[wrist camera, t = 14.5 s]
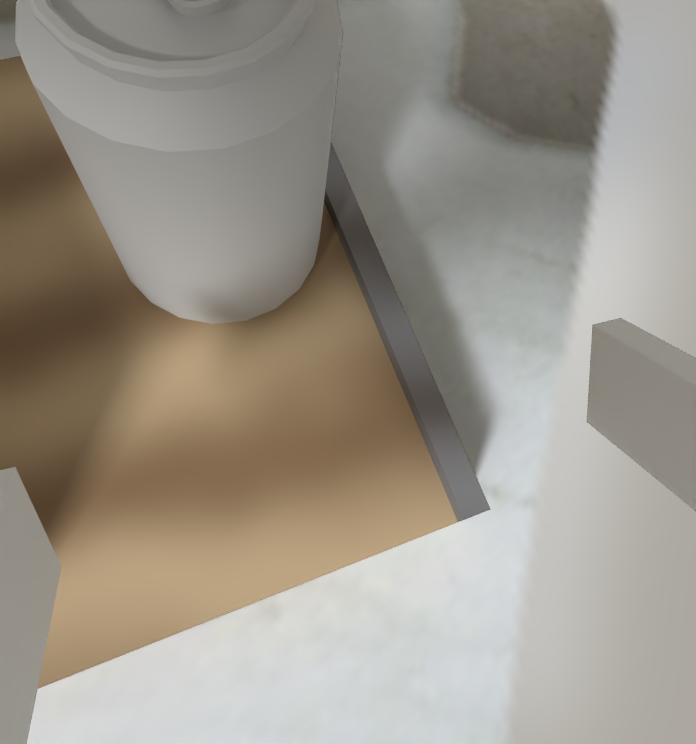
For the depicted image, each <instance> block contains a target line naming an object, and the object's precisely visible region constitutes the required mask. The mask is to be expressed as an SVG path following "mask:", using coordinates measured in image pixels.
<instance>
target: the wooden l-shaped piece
mask: <svg viewBox="0 0 696 744" xmlns="http://www.w3.org/2000/svg"><path fill="white" fill-rule="evenodd" d="M12 467H16V470H17V472H18V474H19V476H20V478H21V480H22V483H23V485H24V487H25V489H26V491H27V493H28V496H29V498H30V500H31V502H32V504H33V506H34V508H35V511H36V513H37V515H38V517H39V519H40V521H41V524H42V526H43V528H44V530H45V532H46V534H47V537H48V539H49V541H50V543H51V545H52V547H53V550H54V552H55V554H56V556H57V558H58V560H59V562H60V565H61V567H62V568H61V573H60V578H59V583H58V588H57V593H56V598H55V603H54V608H53V613H52V618H51V623H50V628H49V633H48V638H47V643H46V648H45V653H44V658H43V663H42V668H41V673H40V678H39V683H38V688H41V687H43V686H46V685H48V684H51V683H53V682H56V681H58V680H61V679H63V678H66V677H68V676H71V675H73V674H76V673H78V672H81V671H83V670H86V669H89V668H91V667H94V666H96V665H99V664H101V663H104V662H106V661H109V660H111V659H114V658H116V657H119V656H121V655H124V654H126V653H129V652H131V651H134V650H136V649H139V648H141V647H144V646H146V645H149V644H152V643H154V642H157V641H159V640H162V639H164V638H167V637H169V636H172V635H174V634H177V633H179V632H182V631H184V630H187V629H189V628H192V627H194V626H197V625H199V624H202V623H204V622H207V621H209V620H212V619H214V618H217V617H220V616H222V615H225V614H227V613H230V612H232V611H235V610H237V609H240V608H242V607H245V606H247V605H250V604H252V603H255V602H257V601H260V600H262V599H265V598H267V597H270V596H272V595H275V594H277V593H280V592H283V591H285V590H288V589H290V588H293V587H295V586H298V585H300V584H303V583H305V582H308V581H310V580H313V579H315V578H318V577H320V576H323V575H325V574H328V573H330V572H333V571H335V570H338V569H340V568H343V567H346V566H348V565H351V564H353V563H356V562H358V561H361V560H363V559H366V558H368V557H371V556H373V555H376V554H378V553H381V552H383V551H386V550H388V549H391V548H393V547H396V546H398V545H401V544H403V543H406V542H409V541H411V540H414V539H416V538H419V537H421V536H424V535H426V534H429V533H431V532H434V531H436V530H439V529H441V528H444V527H446V526H449V525H451V524H454V523H456V522H459V521H462V520H465V519H467V518H470V517H472V516H475V515H477V514H480V513H482V512H485V511H487V510H490V507H489V505H488V503H487V500H486V498H485V496H484V493H483V491H482V489H481V486H480V484H479V482H478V480H477V477H476V475H475V473H474V470H473V468H472V466H471V463H470V461H469V459H468V457H467V454H466V452H465V450H464V447H463V445H462V443H461V440H460V438H459V436H458V433H457V431H456V429H455V427H454V424H453V422H452V420H451V417H450V415H449V413H448V410H447V408H446V406H445V404H444V401H443V399H442V397H441V394H440V392H439V390H438V387H437V385H436V383H435V381H434V378H433V376H432V374H431V371H430V369H429V367H428V364H427V362H426V360H425V358H424V355H423V353H422V351H421V348H420V346H419V344H418V341H417V339H416V337H415V335H414V332H413V330H412V328H411V325H410V323H409V321H408V318H407V316H406V314H405V311H404V309H403V307H402V305H401V302H400V300H399V298H398V295H397V293H396V291H395V288H394V286H393V284H392V282H391V279H390V277H389V275H388V272H387V270H386V268H385V265H384V263H383V261H382V259H381V256H380V254H379V252H378V249H377V247H376V245H375V242H374V240H373V238H372V236H371V233H370V231H369V229H368V226H367V224H366V222H365V219H364V217H363V215H362V212H361V210H360V208H359V206H358V203H357V201H356V199H355V196H354V194H353V192H352V189H351V187H350V185H349V183H348V180H347V178H346V176H345V173H344V171H343V169H342V166H341V164H340V162H339V160H338V157H337V155H336V153H335V150H334V148H333V146H332V143H331V144H330V153H329V161H328V170H327V179H326V188H325V196H324V205H323V214H322V223H321V232H320V239H319V244H318V249H317V254H316V259H315V263H314V266H313V268H312V269H311V271H310V273H309V274H308V276H307V277H306V279H305V281H304V282H303V284H302V285H301V287H300V289H299V290H298V291H297V292H295V293H294V294H293V295H292V296H290V297H289V298H288V299H287V300H286V301H284V302H283V303H282V304H281V305H279V306H278V307H277V308H276V309H274V310H271V311H269V312H266V313H264V314H261V315H259V316H256V317H254V318H251V319H249V320H247V321H239V322H229V323H218V324H209V323H204V322H199V321H194V320H189V319H184V318H179V317H177V316H175V315H174V314H172V313H170V312H168V311H166V310H164V309H162V308H160V307H159V306H157V305H155V304H153V303H151V302H150V301H149V300H148V299H147V298H146V297H145V295H144V294H143V293H142V292H141V291H140V290H139V289H138V288H137V287H136V286H135V285H134V284H133V283H132V282H131V281H130V279H129V277H128V275H127V273H126V271H125V269H124V267H123V265H122V263H121V261H120V259H119V257H118V255H117V253H116V251H115V249H114V247H113V245H112V243H111V241H110V239H109V237H108V235H107V233H106V231H105V229H104V227H103V225H102V223H101V221H100V219H99V216H98V214H97V212H96V210H95V208H94V206H93V204H92V202H91V200H90V198H89V196H88V194H87V192H86V190H85V188H84V186H83V184H82V182H81V180H80V178H79V176H78V174H77V172H76V170H75V168H74V166H73V164H72V162H71V160H70V158H69V156H68V154H67V152H66V150H65V148H64V146H63V144H62V142H61V140H60V138H59V136H58V134H57V132H56V130H55V128H54V126H53V124H52V122H51V120H50V118H49V116H48V114H47V112H46V110H45V108H44V106H43V104H42V102H41V100H40V98H39V96H38V94H37V92H36V89H35V87H34V85H33V83H32V81H31V79H30V77H29V74H28V72H27V70H26V67H25V65H24V63H23V60H22V58H21V56H19V57H14V58H9V59H4V60H0V470H4V469H8V468H12ZM38 688H37V689H38Z"/></svg>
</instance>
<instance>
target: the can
mask: <svg viewBox="0 0 696 744" xmlns="http://www.w3.org/2000/svg"><path fill="white" fill-rule="evenodd" d="M342 38H343V30H342V25H341V19H340V14H339V9H338V3H337V0H17V2H16V28H15V44H16V46H17V49H18V51H19V53H20V56H21V58H22V60H23V63H24V65H25V67H26V70H27V72H28V74H29V77H30V79H31V81H32V83H33V85H34V87H35V89H36V92H37V94H38V96H39V98H40V100H41V102H42V104H43V106H44V108H45V110H46V112H47V114H48V116H49V118H50V120H51V122H52V124H53V126H54V128H55V130H56V132H57V134H58V136H59V138H60V140H61V142H62V144H63V146H64V148H65V150H66V152H67V154H68V156H69V158H70V160H71V162H72V164H73V166H74V168H75V170H76V172H77V174H78V176H79V178H80V180H81V182H82V184H83V186H84V188H85V190H86V192H87V194H88V196H89V198H90V200H91V202H92V204H93V206H94V208H95V210H96V212H97V214H98V216H99V219H100V221H101V223H102V225H103V227H104V229H105V231H106V233H107V235H108V237H109V239H110V241H111V243H112V245H113V247H114V249H115V251H116V253H117V255H118V257H119V259H120V261H121V263H122V265H123V267H124V269H125V271H126V273H127V275H128V277H129V279H130V281H131V282H132V283H133V284H134V285H135V286H136V287H137V288H138V289H139V290H140V291H141V292H142V293H143V294H144V295H145V297H146V298H147V299H148V300H149V301H150V302H151V303H153V304H155V305H157V306H159V307H160V308H162V309H164V310H166V311H168V312H170V313H172V314H174V315H175V316H177V317H179V318H184V319H189V320H194V321H199V322H204V323H209V324H218V323H229V322H239V321H247V320H249V319H251V318H254V317H256V316H259V315H261V314H264V313H266V312H269V311H271V310H274V309H276V308H277V307H278V306H279V305H281V304H282V303H283V302H284V301H286V300H287V299H288V298H289V297H290V296H292V295H293V294H294V293H295V292H297V291H298V290H299V289H300V287H301V285H302V284H303V282H304V281H305V279H306V277H307V276H308V274H309V273H310V271H311V269H312V268H313V266H314V263H315V259H316V254H317V249H318V244H319V239H320V232H321V223H322V214H323V205H324V196H325V188H326V179H327V170H328V161H329V153H330V144H331V135H332V126H333V117H334V109H335V100H336V91H337V82H338V74H339V65H340V56H341V47H342Z"/></svg>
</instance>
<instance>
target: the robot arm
mask: <svg viewBox="0 0 696 744" xmlns="http://www.w3.org/2000/svg"><path fill="white" fill-rule="evenodd" d="M587 423H589V424H590V425H591V426H592V427H594V428H595V429H596V430H597V431H599V432H600V433H601V434H602V435H603V436H605V437H606V438H607V439H608V440H609V441H611V442H612V443H613V444H614V445H616V446H617V447H618V448H619V449H621V450H622V451H623V452H624V453H625V454H627V455H628V456H629V457H630V458H631V459H633V460H634V461H635V462H636V463H638V464H639V465H640V466H641V467H642V468H644V469H645V470H646V471H647V472H649V473H650V474H651V475H652V476H653V477H655V478H656V479H657V480H658V481H659V482H661V483H662V484H663V485H665V486H666V487H667V488H668V489H669V490H670V491H672V492H673V493H674V494H675V495H677V496H678V497H679V498H680V499H681V500H683V501H684V502H685V503H686V504H687V505H689V506H690V507H691V508H693V509H694V510H695V511H696V358H695V357H693V356H691V355H689V354H687V353H685V352H683V351H682V350H680V349H678V348H676V347H674V346H672V345H670V344H669V343H667V342H665V341H663V340H661V339H659V338H657V337H655V336H653V335H651V334H650V333H648V332H646V331H644V330H642V329H640V328H639V327H637V326H635V325H633V324H631V323H629V322H627V321H625V320H623V319H622V318H619V319H615V320H611V321H607V322H602V323H598V324H594V325H593V327H592V344H591V360H590V376H589V394H588V410H587ZM61 568H62V567H61V565H60V562H59V560H58V558H57V556H56V554H55V552H54V550H53V547H52V545H51V543H50V541H49V539H48V537H47V534H46V532H45V530H44V528H43V526H42V524H41V521H40V519H39V517H38V515H37V513H36V511H35V508H34V506H33V504H32V502H31V500H30V498H29V496H28V493H27V491H26V489H25V487H24V485H23V483H22V480H21V478H20V476H19V474H18V472H17V470H16V467H12V468H8V469H4V470H0V744H27V739H28V734H29V729H30V723H31V718H32V713H33V708H34V703H35V698H36V693H37V688H38V683H39V678H40V673H41V668H42V663H43V658H44V653H45V648H46V643H47V638H48V633H49V628H50V623H51V618H52V613H53V608H54V603H55V598H56V593H57V588H58V583H59V578H60V573H61Z"/></svg>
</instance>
